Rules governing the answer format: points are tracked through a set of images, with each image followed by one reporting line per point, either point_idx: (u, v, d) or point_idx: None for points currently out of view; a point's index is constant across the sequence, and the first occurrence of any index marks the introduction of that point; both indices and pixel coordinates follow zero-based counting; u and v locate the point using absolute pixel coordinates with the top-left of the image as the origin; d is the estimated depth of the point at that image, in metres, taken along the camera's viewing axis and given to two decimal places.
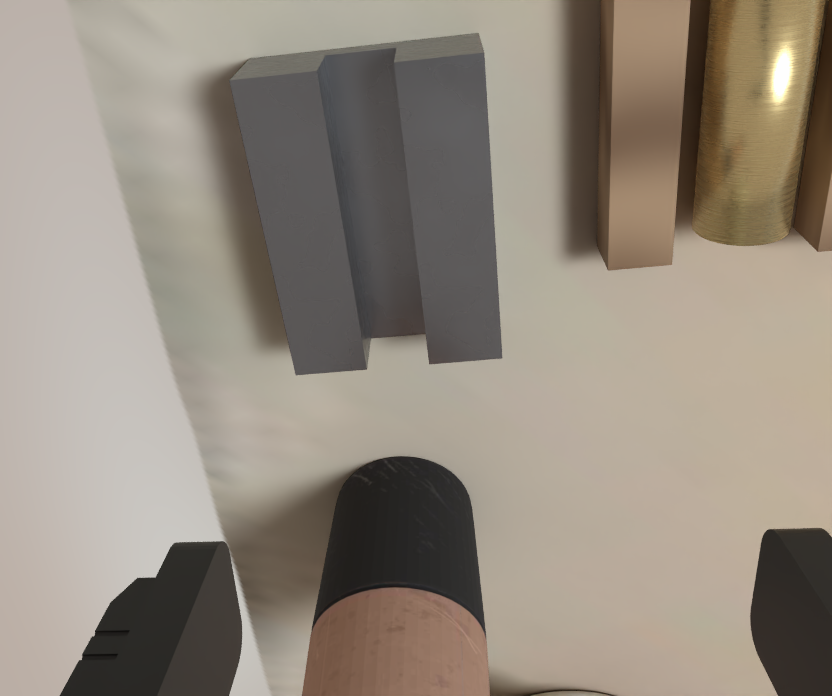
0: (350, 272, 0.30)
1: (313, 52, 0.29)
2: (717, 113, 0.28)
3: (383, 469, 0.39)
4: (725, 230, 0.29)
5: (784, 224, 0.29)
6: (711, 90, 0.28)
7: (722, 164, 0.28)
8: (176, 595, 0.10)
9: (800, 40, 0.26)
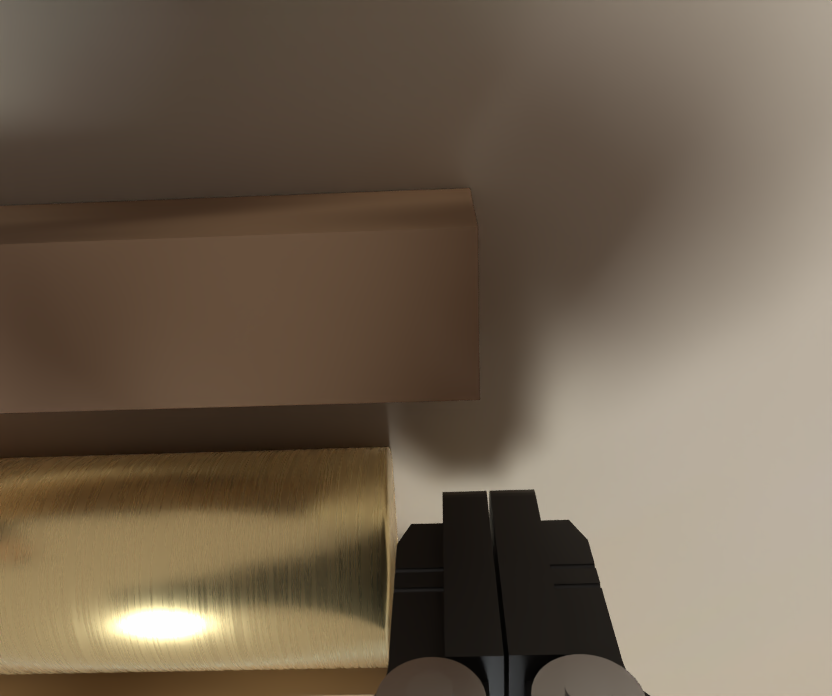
0: None
1: None
2: (41, 555, 0.12)
3: None
4: None
5: None
6: (92, 525, 0.12)
7: None
8: (471, 535, 0.11)
9: (219, 669, 0.13)
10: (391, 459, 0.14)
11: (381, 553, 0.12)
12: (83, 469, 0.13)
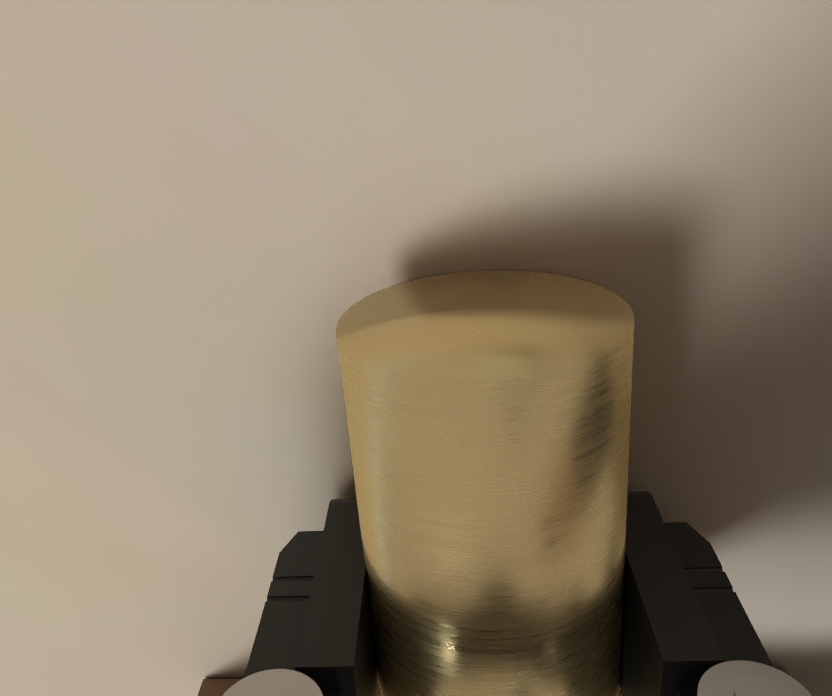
0: None
1: None
2: (613, 667, 0.11)
3: None
4: (583, 408, 0.08)
5: (384, 413, 0.09)
6: (619, 684, 0.11)
7: (602, 579, 0.10)
8: (348, 543, 0.11)
9: None
10: None
11: None
12: None
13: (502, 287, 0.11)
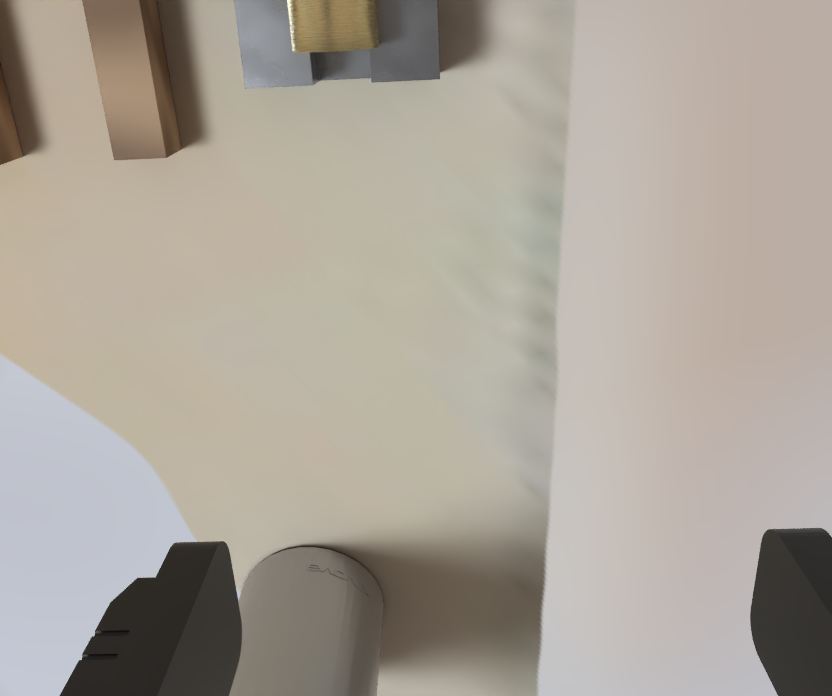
0: None
1: None
2: None
3: None
4: None
5: None
6: None
7: None
8: (176, 595, 0.10)
9: None
10: None
11: (367, 48, 0.32)
12: None
13: None
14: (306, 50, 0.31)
